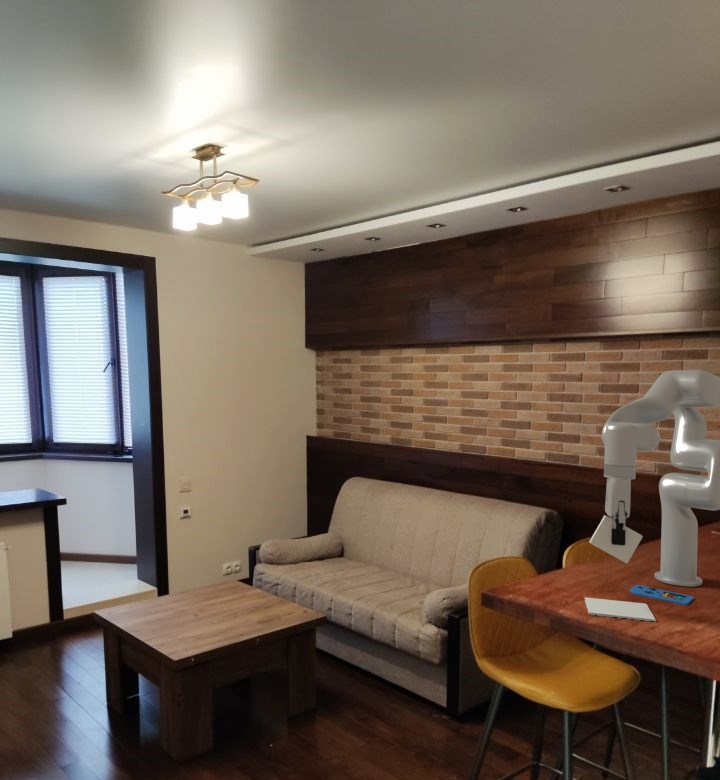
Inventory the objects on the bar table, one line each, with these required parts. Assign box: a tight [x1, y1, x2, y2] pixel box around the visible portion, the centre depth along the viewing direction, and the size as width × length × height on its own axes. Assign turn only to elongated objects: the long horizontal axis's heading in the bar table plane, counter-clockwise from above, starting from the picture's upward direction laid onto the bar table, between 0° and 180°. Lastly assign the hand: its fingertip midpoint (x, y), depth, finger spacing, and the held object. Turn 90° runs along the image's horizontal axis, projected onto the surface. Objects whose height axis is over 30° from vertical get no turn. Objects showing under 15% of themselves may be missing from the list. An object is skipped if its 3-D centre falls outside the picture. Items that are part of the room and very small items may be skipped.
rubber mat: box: [584, 597, 657, 623], centre depth 158 cm, size 12×15×1 cm
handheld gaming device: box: [628, 584, 695, 606], centre depth 171 cm, size 8×1×15 cm
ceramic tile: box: [589, 514, 644, 564], centre depth 162 cm, size 2×10×8 cm, turn 75°
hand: (617, 543), depth 162 cm, fingers closed on ceramic tile, 1 cm apart
